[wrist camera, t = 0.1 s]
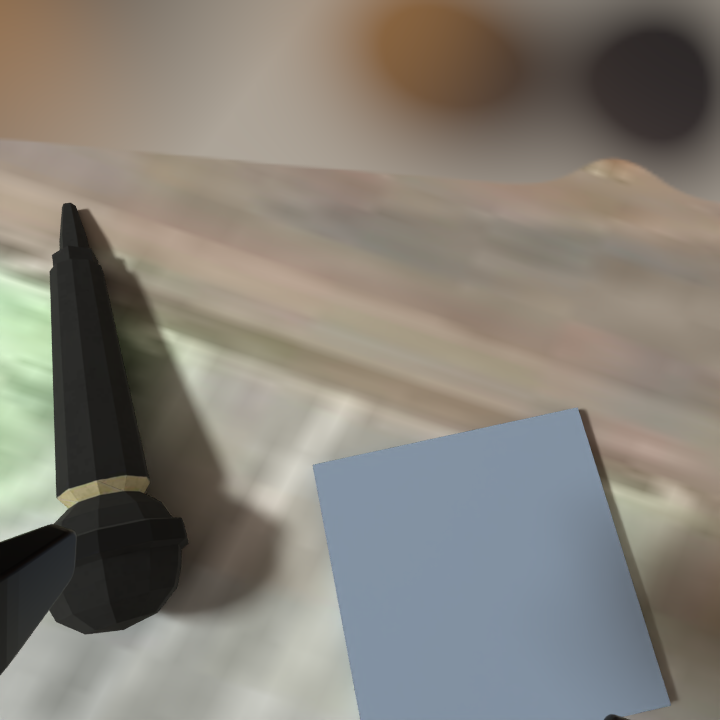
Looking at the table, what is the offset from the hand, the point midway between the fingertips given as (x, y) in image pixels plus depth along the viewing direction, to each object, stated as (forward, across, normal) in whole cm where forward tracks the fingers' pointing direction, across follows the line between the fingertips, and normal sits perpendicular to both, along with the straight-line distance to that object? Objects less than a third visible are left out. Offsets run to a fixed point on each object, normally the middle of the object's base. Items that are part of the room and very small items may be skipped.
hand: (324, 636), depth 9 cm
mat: (+13, -5, +8) cm, 16 cm away
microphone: (+15, +12, +6) cm, 20 cm away
